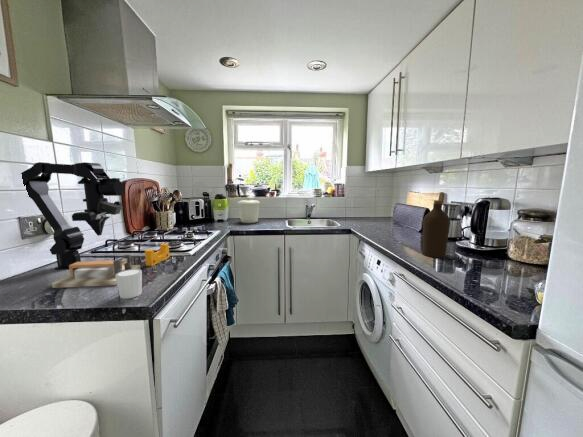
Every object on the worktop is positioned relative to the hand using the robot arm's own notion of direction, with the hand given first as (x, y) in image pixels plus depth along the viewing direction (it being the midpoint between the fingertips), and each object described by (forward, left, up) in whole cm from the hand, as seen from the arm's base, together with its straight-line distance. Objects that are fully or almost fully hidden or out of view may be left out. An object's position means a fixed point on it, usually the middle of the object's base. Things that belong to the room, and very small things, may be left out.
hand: (99, 235), depth 102 cm
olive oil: (+142, -1, -13) cm, 143 cm away
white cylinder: (+24, -28, -13) cm, 39 cm away
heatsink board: (+6, -12, -13) cm, 19 cm away
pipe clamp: (+18, +5, -13) cm, 23 cm away
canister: (+53, +100, -13) cm, 114 cm away
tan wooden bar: (+6, -12, -11) cm, 17 cm away
